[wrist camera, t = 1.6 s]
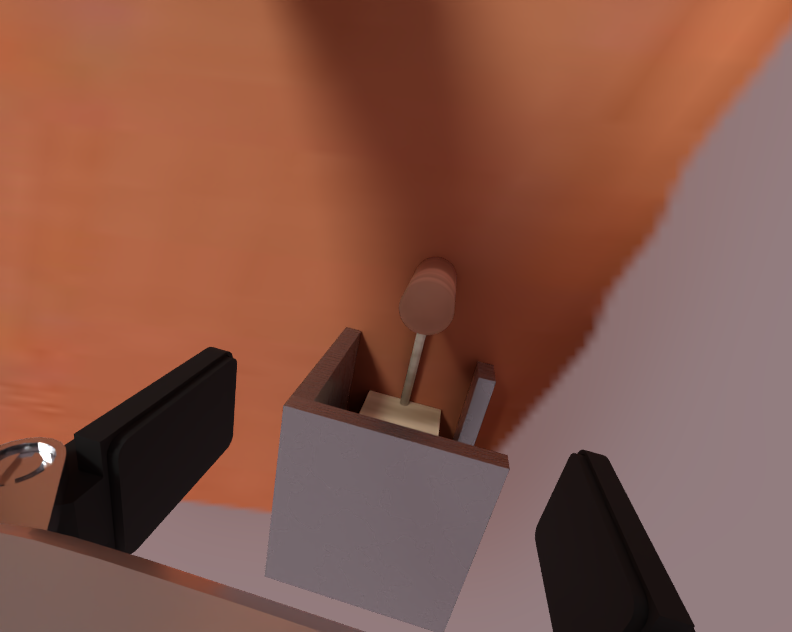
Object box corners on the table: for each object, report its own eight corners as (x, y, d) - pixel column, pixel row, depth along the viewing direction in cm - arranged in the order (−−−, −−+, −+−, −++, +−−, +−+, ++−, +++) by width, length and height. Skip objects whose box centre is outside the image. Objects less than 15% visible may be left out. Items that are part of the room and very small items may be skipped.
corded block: (399, 247, 27) (378, 269, 20) (482, 267, 26) (488, 297, 20) (357, 447, 33) (332, 512, 27) (424, 466, 33) (414, 537, 26)
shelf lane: (346, 327, 29) (283, 405, 19) (493, 365, 28) (509, 469, 18) (324, 458, 34) (264, 576, 24) (449, 494, 33) (442, 634, 23)
